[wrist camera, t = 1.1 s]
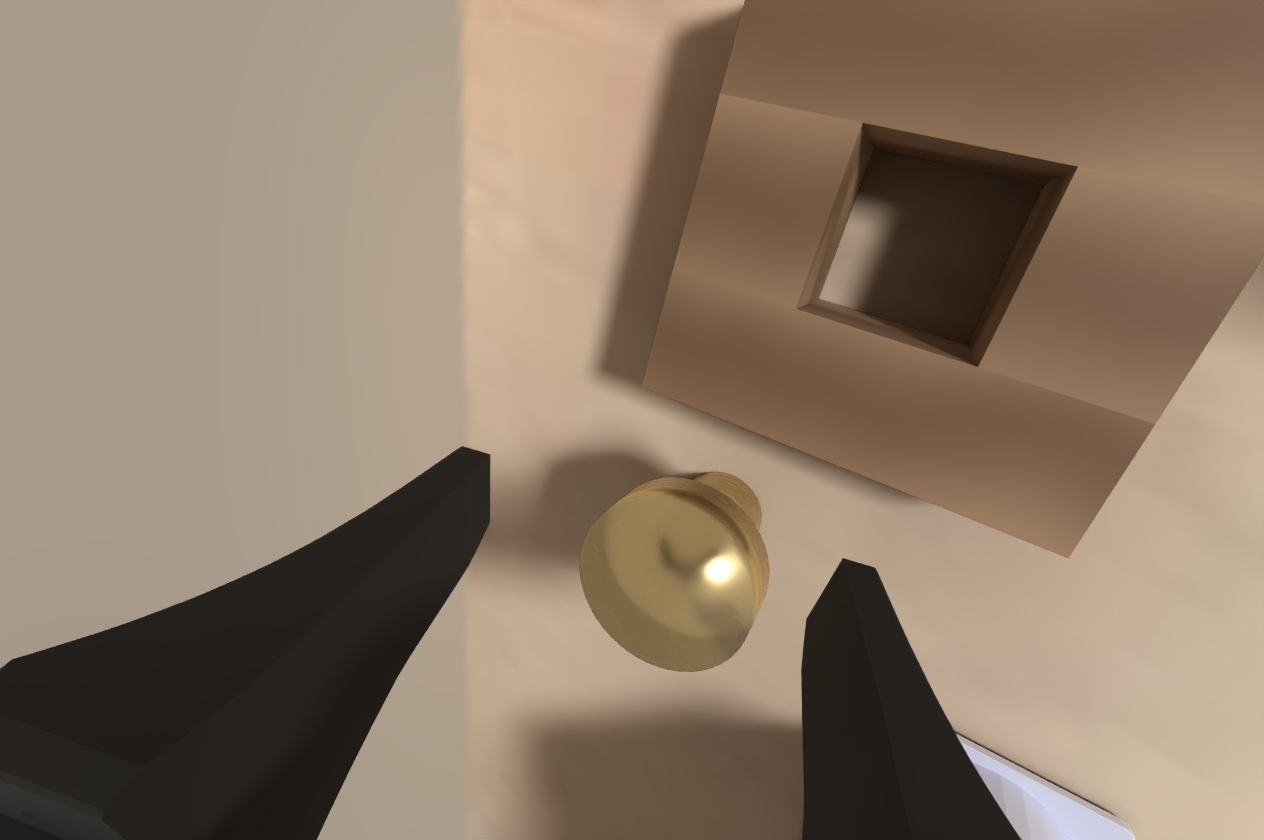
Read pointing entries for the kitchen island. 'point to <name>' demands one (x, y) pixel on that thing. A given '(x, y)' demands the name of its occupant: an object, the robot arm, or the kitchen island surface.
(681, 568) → the brass pin
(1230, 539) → the kitchen island surface
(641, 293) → the kitchen island surface
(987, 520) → the walnut block
